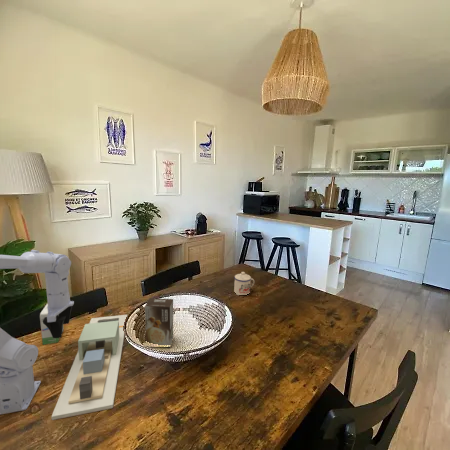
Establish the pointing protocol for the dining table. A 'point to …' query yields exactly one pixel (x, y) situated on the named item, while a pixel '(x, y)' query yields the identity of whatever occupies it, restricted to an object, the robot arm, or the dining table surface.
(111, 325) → the tunnel
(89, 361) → the block
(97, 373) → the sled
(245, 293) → the teacup with lid
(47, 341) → the ink box
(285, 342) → the dining table surface
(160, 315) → the coffee box
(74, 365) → the deck
